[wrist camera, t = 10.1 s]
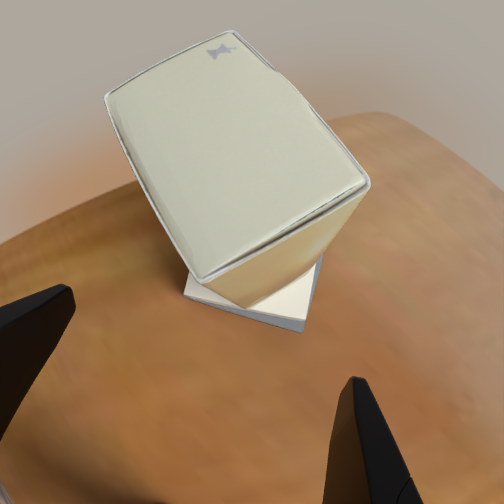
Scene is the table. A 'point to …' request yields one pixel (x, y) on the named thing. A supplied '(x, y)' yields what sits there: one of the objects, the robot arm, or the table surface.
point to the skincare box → (235, 167)
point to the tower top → (281, 304)
